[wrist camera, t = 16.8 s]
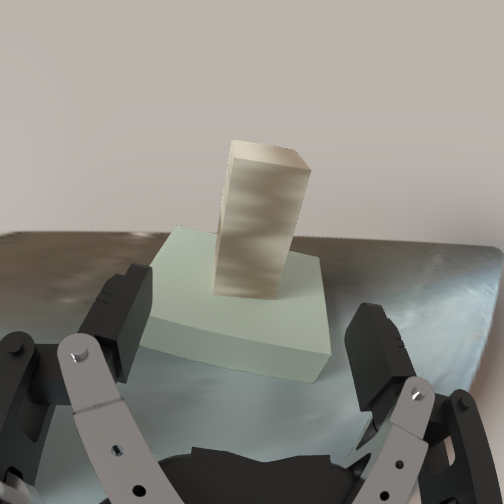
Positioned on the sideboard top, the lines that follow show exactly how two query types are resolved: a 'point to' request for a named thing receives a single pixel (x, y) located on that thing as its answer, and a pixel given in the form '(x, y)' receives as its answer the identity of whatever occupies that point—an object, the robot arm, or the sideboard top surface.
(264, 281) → the maple block
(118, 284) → the robot arm
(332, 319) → the sideboard top surface
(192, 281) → the sage block
